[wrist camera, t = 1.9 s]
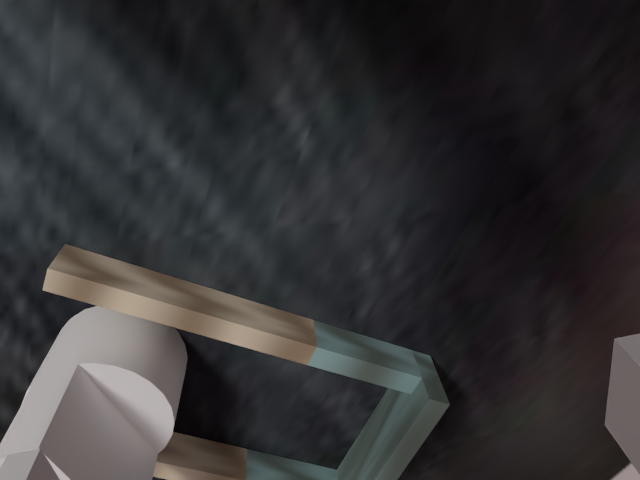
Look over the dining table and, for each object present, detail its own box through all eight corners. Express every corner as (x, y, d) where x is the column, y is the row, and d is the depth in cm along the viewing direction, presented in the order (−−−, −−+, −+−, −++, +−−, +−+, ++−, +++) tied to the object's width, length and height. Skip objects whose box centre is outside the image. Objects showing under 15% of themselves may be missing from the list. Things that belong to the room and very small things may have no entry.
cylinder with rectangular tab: (28, 334, 37) (-70, 487, 26) (142, 283, 36) (88, 422, 25) (105, 418, 41) (47, 580, 30) (210, 376, 40) (188, 528, 29)
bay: (22, 412, 40) (-9, 469, 35) (65, 243, 34) (34, 287, 29) (346, 485, 46) (353, 541, 42) (430, 355, 40) (450, 404, 36)
